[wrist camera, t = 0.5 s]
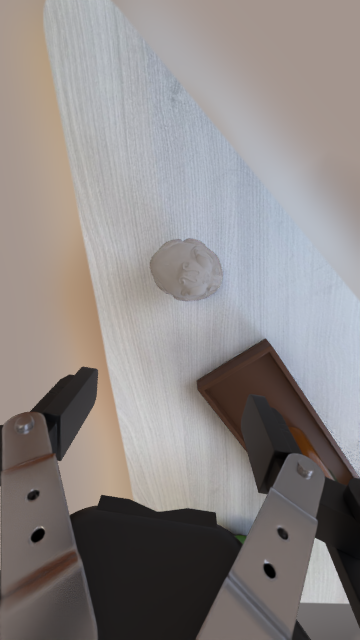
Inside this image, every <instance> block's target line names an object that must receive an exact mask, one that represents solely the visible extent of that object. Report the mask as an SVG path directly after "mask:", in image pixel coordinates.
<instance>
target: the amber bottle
mask: <svg viewBox="0 0 360 640" xmlns="http://www.w3.org/2000/svg"><path fill="white" fill-rule="evenodd" d="M288 428H289V430H290V432H291V433H292V435H293V437H294V439H295V441H296V443H297V444H298V446H299V448H300V450H301V452H302V454H303V455H304V456H306V457H308V458H310V459H311V460H313V461H314V462H315V463H316V464H317V465H318V466H319V467H320V468H321V470H322V471H323V473H324V476H325V477H328V478H330V479H332V480H334V478H333V477H332V475H331V473H330V472H329V470H328V469H327V467H326V465H325V464H324V462H323V461H322V459H321V457H320V456H319V454H318V453H317V451H316V450H315V448H314V446H313V445H312V443H311V442H310V440H309V438H308V437H307V435H306V434H305V432H303V431H302V430H301V429H298V428H295V427H288Z"/></svg>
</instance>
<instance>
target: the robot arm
mask: <svg viewBox="0 0 360 640" xmlns="http://www.w3.org/2000/svg"><path fill="white" fill-rule="evenodd" d="M97 378H98V370H97V369H94V368H88V367H81V369H80V370H79V371H78V372H77V373H76V374H75V375H68V376H66V377H64V378H62V379H60V380H59V382H57V384H56V385H55V386H54V387H53V388H52V389H51V390H50V391H49V393H47V394H46V395H45V396H44V397H43V399H41V400H40V401H39V403H38V404H37V405H36V406H35V407H34V408H33V409H32V410H31V411H30V412H25V413H21V414H18V415H15V416H14V417H12V418H10V419H9V420H8V421H7V422H6V423H5V424H4V425H0V486H1V570H0V640H311V639H310V638H309V636H308V635H307V633H306V632H305V631H304V629H303V628H302V626H301V625H300V624H299V622H298V621H297V619H296V617H297V613H298V608H299V604H300V600H301V595H302V591H303V587H304V582H305V578H306V574H307V569H308V565H309V561H310V556H311V552H312V547H313V543H314V539H315V538H317V539H319V540H321V541H323V542H325V543H326V546H327V548H328V551H329V553H330V556H331V558H332V561H333V563H334V566H335V568H336V571H337V573H338V576H339V578H340V581H341V583H342V585H343V588H344V590H345V593H346V595H347V598H348V600H349V603H350V605H351V608H352V610H353V613H354V615H355V618H356V620H357V623H358V625H359V627H360V478H352V479H351V480H350V481H349V483H348V485H347V486H346V485H344V484H342V483H339V482H337V481H335V480H332V479H330V478H328V477H325V476H324V473H323V471H322V470H321V468H320V467H319V466H318V465H317V464H316V463H315V462H314V461H313V460H311V459H310V458H308V457H306V456H304V455H303V454H302V452H301V450H300V448H299V446H298V444H297V443H296V441H295V439H294V437H293V435H292V433H291V432H290V430H289V428H288V426H287V425H286V422H285V420H284V418H283V416H282V415H281V414H280V413H279V412H278V411H277V410H276V409H275V408H272V407H270V406H269V404H268V401H267V399H266V398H265V396H260V395H253V394H249V396H248V398H247V402H246V405H245V408H244V412H243V415H242V419H241V431H242V434H243V438H244V442H245V445H246V449H247V452H248V456H249V460H250V463H251V467H252V471H253V474H254V478H255V482H256V485H257V489H258V492H259V493H263V494H267V497H266V499H265V501H264V503H263V505H262V507H261V509H260V511H259V513H258V515H257V517H256V519H255V521H254V523H253V525H252V527H251V529H250V531H249V533H248V535H247V537H246V539H245V541H244V544H242V543H241V542H240V540H238V539H237V538H236V537H235V536H234V535H233V534H232V533H231V532H229V531H228V530H227V529H225V528H223V527H222V526H220V525H218V524H217V521H216V513H215V512H209V511H202V510H196V509H189V508H186V509H179V510H171V511H164V512H156V511H154V510H152V509H150V508H147V507H145V506H143V505H141V504H139V503H137V502H134V501H132V500H130V499H124V498H118V497H112V496H105V495H101V498H100V501H99V503H98V506H92V507H88V508H84V509H82V510H79V511H77V512H75V513H73V514H71V515H69V511H68V506H67V502H66V498H65V493H64V489H63V484H62V480H61V475H60V471H59V466H58V462H57V461H61V460H62V458H63V457H64V455H65V453H66V451H67V450H68V448H69V446H70V445H71V443H72V441H73V440H74V438H75V436H76V435H77V433H78V431H79V430H80V428H81V426H82V424H83V423H84V421H85V419H86V418H87V416H88V414H89V413H90V411H91V409H92V408H93V406H94V403H95V400H96V395H97V380H98V379H97Z"/></svg>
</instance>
